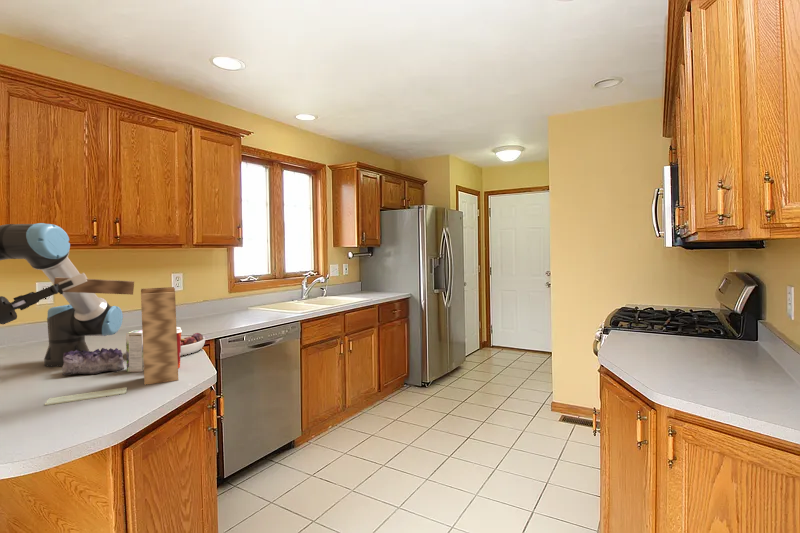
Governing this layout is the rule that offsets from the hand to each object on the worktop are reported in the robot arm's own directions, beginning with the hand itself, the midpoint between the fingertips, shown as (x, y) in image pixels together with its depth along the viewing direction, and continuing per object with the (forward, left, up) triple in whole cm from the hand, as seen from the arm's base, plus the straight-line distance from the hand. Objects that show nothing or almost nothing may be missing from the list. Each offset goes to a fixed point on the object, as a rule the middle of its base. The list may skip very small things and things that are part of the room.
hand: (85, 277), depth 135 cm
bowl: (+13, +56, -37) cm, 68 cm away
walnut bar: (+2, 0, -5) cm, 5 cm away
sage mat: (0, -1, -36) cm, 37 cm away
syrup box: (+8, +27, -37) cm, 46 cm away
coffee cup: (+19, +25, -37) cm, 48 cm away
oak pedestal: (+18, +11, -36) cm, 42 cm away
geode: (-8, +32, -37) cm, 49 cm away
